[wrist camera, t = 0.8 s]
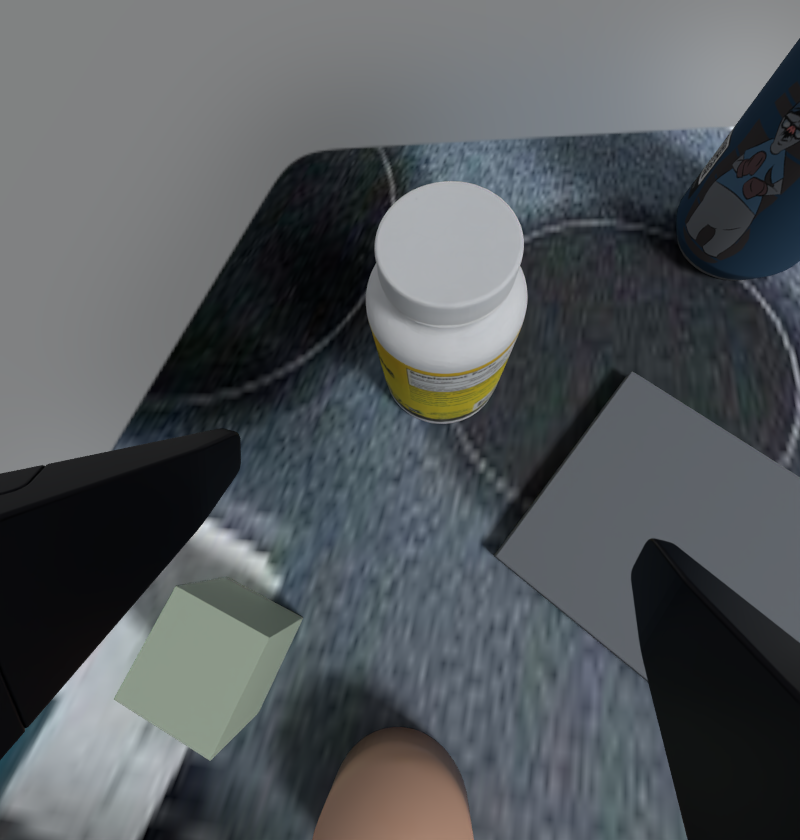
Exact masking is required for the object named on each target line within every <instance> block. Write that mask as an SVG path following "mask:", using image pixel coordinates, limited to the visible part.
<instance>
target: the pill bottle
mask: <svg viewBox="0 0 800 840" xmlns="http://www.w3.org/2000/svg"><path fill="white" fill-rule="evenodd" d="M523 249H524V240H523V233H522V229H521V225H520V223H519V221H518V219H517V217H516V215H515V213H514V212H513V210H512V209H511V208H510V206H509V205H508V204H507V203H506V202H505V201H503V200H502V199H501V198H500V197H499V196H497V195H496V194H494V193H493V192H491V191H490V190H487V189H485V188H482V187H480V186H477V185H474V184H470V183H466V182H455V181H445V182H437V183H432V184H428V185H425V186H422V187H419V188H417V189H414V190H412V191H410V192H409V193H407V194H406V195H404V196H403V197H401V198H400V199H399V200H398V201H396V202H395V203H394V204H393V205H392V206H391V208H390V209H389V210H388V211H387V213H386V214H385V215H384V217H383V219H382V221H381V223H380V225H379V227H378V230H377V233H376V238H375V258H376V264H375V266H374V268H373V270H372V272H371V275H370V278H369V281H368V285H367V291H366V309H367V316H368V321H369V324H370V328H371V331H372V334H373V337H374V340H375V344H376V347H377V351H378V355H379V359H380V362H381V365H382V368H383V372H384V375H385V379H386V382H387V385H388V388H389V390H390V392H391V394H392V396H393V398H394V399H395V401H396V402H397V403H398V405H399V406H400V407H401V408H402V409H403V410H405V411H406V412H407V413H408V414H410V415H412V416H413V417H415V418H418V419H420V420H423V421H426V422H430V423H438V424H447V423H454V422H458V421H461V420H464V419H466V418H468V417H470V416H472V415H473V414H475V413H476V412H478V411H479V410H480V409H481V408H482V407H483V406H484V405H485V404H486V403H487V401H488V400H489V398H490V397H491V395H492V393H493V392H494V390H495V388H496V386H497V383H498V381H499V379H500V376H501V374H502V372H503V369H504V367H505V365H506V362H507V360H508V358H509V355H510V353H511V351H512V348H513V346H514V343H515V341H516V339H517V336H518V334H519V332H520V329H521V326H522V323H523V320H524V317H525V313H526V308H527V286H526V281H525V277H524V274H523V271H522V269H521V267H520V264H521V260H522V256H523Z"/></svg>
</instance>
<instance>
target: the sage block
mask: <svg viewBox="0 0 800 840" xmlns="http://www.w3.org/2000/svg"><path fill="white" fill-rule="evenodd" d="M302 619H303V617H301V616H299V615H297V614H295V613H293V612H292V611H290V610H288V609H286V608H284V607H282V606H280V605H279V604H277V603H275V602H273V601H271V600H269V599H267V598H265V597H264V596H262V595H260V594H258V593H256V592H254V591H252V590H250V589H249V588H247V587H245V586H243V585H241V584H239V583H237V582H236V581H234V580H232V579H230V578H228V577H223V578H217V579H212V580H206V581H200V582H195V583H189V584H183V585H178V586H175V588H174V590H173V592H172V594H171V596H170V597H169V599H168V601H167V603H166V605H165V607H164V608H163V610H162V612H161V614H160V616H159V617H158V619H157V621H156V623H155V625H154V627H153V628H152V630H151V632H150V634H149V636H148V638H147V639H146V641H145V643H144V645H143V647H142V648H141V650H140V652H139V654H138V656H137V658H136V659H135V661H134V663H133V665H132V667H131V669H130V670H129V672H128V674H127V676H126V678H125V680H124V681H123V683H122V685H121V687H120V689H119V690H118V692H117V694H116V696H115V698H114V700H115V701H117V702H119V703H120V704H122V705H123V706H125V707H126V708H128V709H130V710H131V711H133V712H134V713H136V714H137V715H139V716H141V717H142V718H144V719H145V720H147V721H148V722H150V723H152V724H153V725H155V726H156V727H158V728H159V729H161V730H163V731H164V732H166V733H167V734H169V735H170V736H172V737H174V738H175V739H177V740H178V741H180V742H181V743H183V744H185V745H186V746H188V747H189V748H191V749H192V750H194V751H196V752H197V753H199V754H200V755H202V756H203V757H205V758H207V759H208V760H211V759H212V758H213V757H214V756H215V755H216V754H217V753H219V752H220V751H221V750H222V749H223V748H224V747H225V746H226V745H227V744H228V743H229V742H230V741H231V740H232V739H233V738H234V737H235V736H236V735H237V734H238V733H239V732H240V731H241V730H242V729H243V728H244V727H245V726H246V725H247V724H248V723H249V722H250V721H251V720H252V719H253V718H254V717H255V716H256V715H257V714H258V713H259V711H260V708H261V706H262V704H263V702H264V700H265V698H266V696H267V694H268V691H269V689H270V687H271V685H272V683H273V681H274V679H275V677H276V674H277V672H278V670H279V668H280V666H281V664H282V662H283V660H284V657H285V655H286V653H287V651H288V649H289V647H290V645H291V642H292V640H293V638H294V636H295V634H296V632H297V630H298V628H299V625H300V623H301V621H302Z"/></svg>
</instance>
